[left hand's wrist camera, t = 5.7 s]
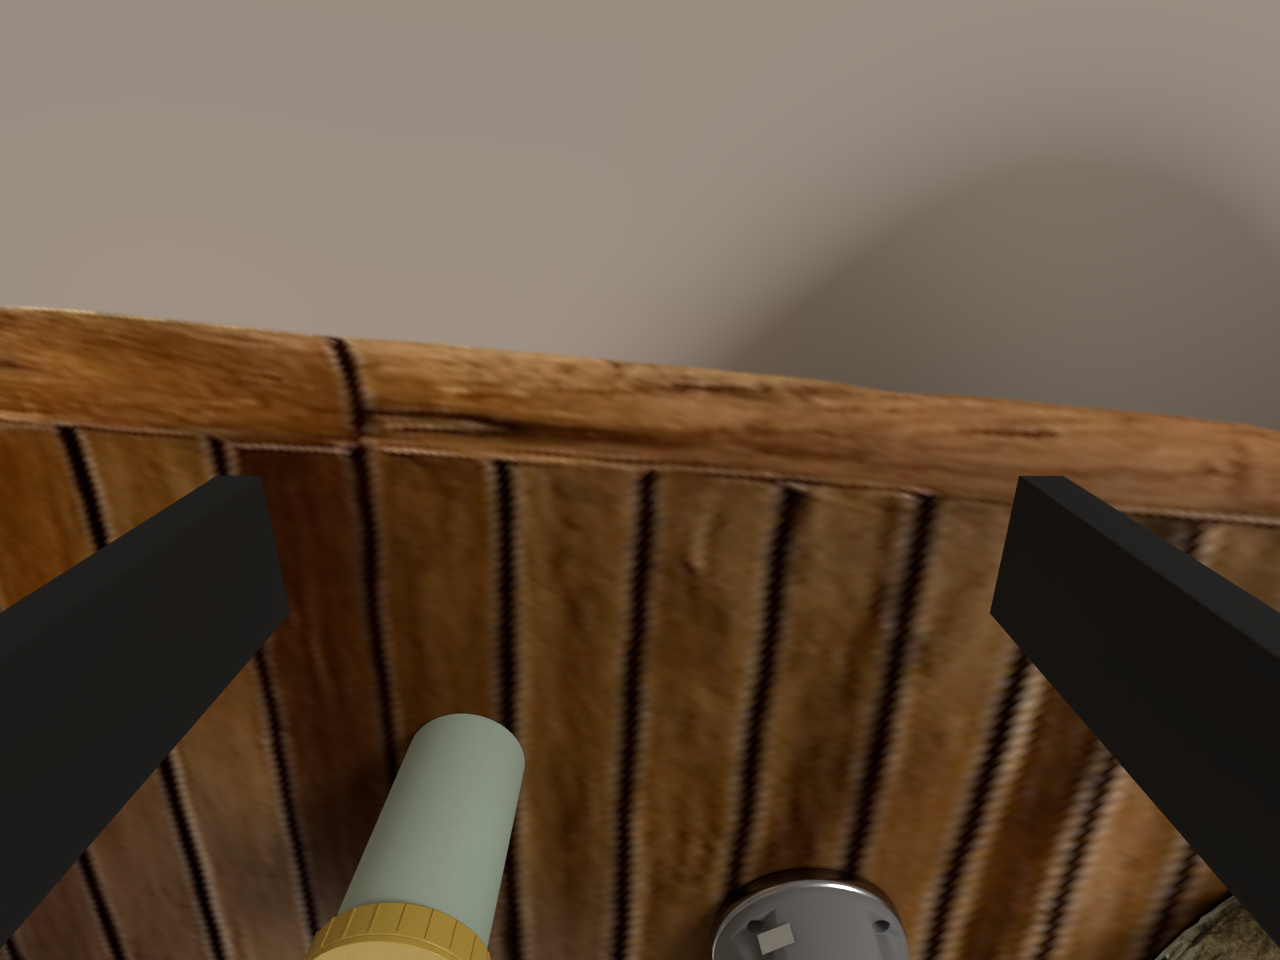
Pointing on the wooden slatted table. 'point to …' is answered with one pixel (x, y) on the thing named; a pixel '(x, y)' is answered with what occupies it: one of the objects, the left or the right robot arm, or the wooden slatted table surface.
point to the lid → (396, 935)
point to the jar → (446, 823)
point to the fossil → (1223, 937)
